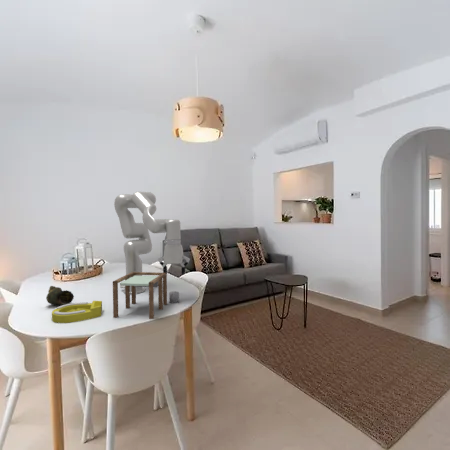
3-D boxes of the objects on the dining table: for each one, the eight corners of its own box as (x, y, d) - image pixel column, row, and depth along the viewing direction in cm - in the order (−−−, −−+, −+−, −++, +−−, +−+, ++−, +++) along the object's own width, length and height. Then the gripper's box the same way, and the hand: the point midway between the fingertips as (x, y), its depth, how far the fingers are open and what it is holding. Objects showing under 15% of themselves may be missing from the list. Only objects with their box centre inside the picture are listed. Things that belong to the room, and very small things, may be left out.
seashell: (54, 310, 140) (54, 290, 140) (43, 306, 146) (42, 287, 146) (75, 304, 149) (75, 285, 149) (63, 301, 155) (63, 282, 155)
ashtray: (100, 319, 129) (100, 308, 129) (48, 326, 122) (47, 314, 122) (102, 308, 144) (102, 298, 144) (56, 313, 137) (55, 303, 137)
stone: (167, 303, 151) (167, 294, 151) (170, 300, 156) (170, 291, 156) (177, 303, 150) (177, 294, 150) (180, 300, 156) (179, 291, 155)
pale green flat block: (119, 293, 132) (119, 283, 132) (134, 285, 148) (133, 275, 148) (149, 294, 131) (149, 284, 130) (161, 285, 146) (161, 276, 146)
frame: (113, 317, 131) (112, 281, 130) (133, 302, 151) (132, 271, 151) (152, 319, 129) (152, 282, 128) (167, 304, 149) (166, 272, 149)
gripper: (155, 243, 149) (156, 275, 150) (187, 243, 147) (188, 275, 148) (160, 241, 156) (161, 272, 157) (190, 241, 155) (191, 272, 155)
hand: (174, 274), depth 152 cm, fingers open, 9 cm apart
